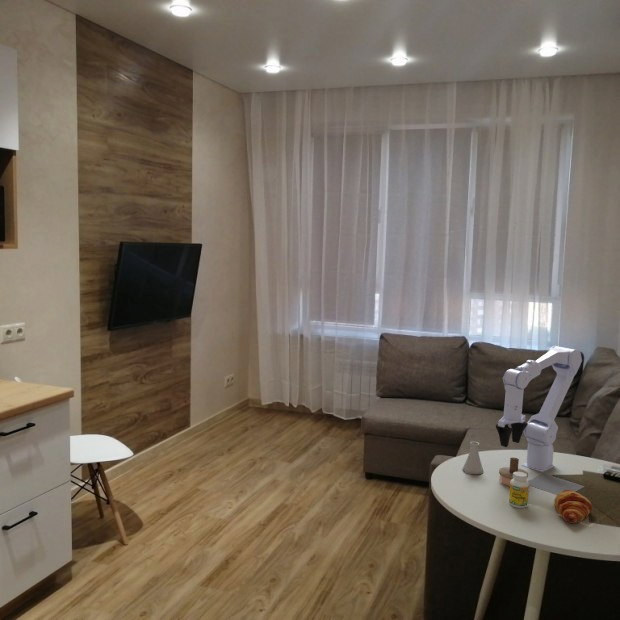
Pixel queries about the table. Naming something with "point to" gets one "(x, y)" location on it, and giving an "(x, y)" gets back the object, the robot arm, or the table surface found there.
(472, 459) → the flask
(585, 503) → the croissant
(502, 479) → the bowl
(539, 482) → the mat
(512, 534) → the table surface
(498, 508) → the table surface
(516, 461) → the lid
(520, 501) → the supplement bottle
